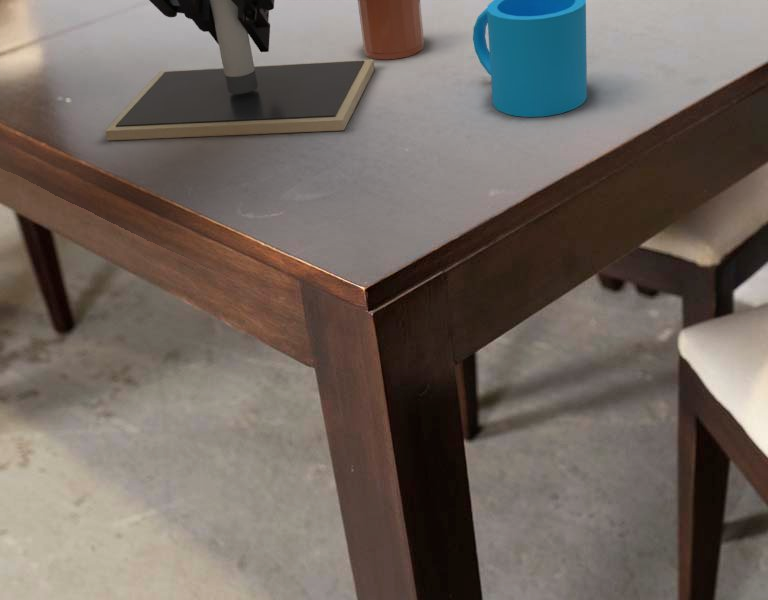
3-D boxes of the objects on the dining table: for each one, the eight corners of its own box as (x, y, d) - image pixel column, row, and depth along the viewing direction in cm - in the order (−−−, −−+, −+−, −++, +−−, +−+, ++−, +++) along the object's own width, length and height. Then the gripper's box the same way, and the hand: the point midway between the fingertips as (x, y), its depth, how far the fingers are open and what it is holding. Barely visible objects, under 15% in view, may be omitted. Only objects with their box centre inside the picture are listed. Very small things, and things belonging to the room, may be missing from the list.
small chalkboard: (107, 140, 100) (104, 128, 99) (162, 80, 112) (159, 69, 111) (344, 130, 95) (342, 117, 95) (375, 69, 107) (373, 57, 107)
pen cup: (359, 61, 110) (348, -22, 105) (370, 41, 114) (360, -39, 110) (419, 57, 108) (411, -26, 104) (427, 37, 113) (420, -43, 109)
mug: (607, 94, 95) (607, -2, 90) (539, 124, 91) (535, 26, 87) (511, 67, 103) (506, -23, 99) (444, 93, 100) (436, 2, 95)
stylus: (224, 95, 102) (196, -40, 95) (233, 84, 104) (206, -49, 97) (253, 93, 101) (227, -42, 94) (261, 82, 103) (236, -51, 97)
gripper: (41, -55, 82) (166, 81, 105) (244, -72, 79) (327, 72, 102) (50, -146, 83) (171, 7, 106) (250, -167, 80) (331, -4, 103)
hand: (247, 39), depth 104 cm, fingers closed on stylus, 3 cm apart
